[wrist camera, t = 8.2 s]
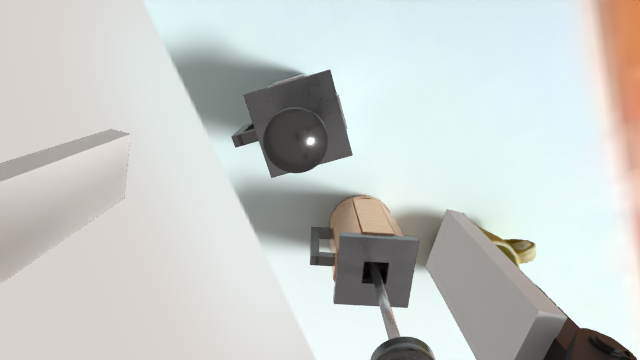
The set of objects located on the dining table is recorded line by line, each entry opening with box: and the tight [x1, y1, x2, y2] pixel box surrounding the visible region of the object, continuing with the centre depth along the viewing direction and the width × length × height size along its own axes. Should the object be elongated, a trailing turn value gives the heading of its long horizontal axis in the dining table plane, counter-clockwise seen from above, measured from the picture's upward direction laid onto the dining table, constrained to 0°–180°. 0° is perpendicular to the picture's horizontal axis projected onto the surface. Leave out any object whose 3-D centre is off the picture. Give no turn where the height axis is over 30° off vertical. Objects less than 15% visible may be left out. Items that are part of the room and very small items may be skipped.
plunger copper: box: [362, 261, 435, 360], centre depth 35 cm, size 6×6×18 cm
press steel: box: [232, 70, 352, 178], centre depth 42 cm, size 12×9×13 cm
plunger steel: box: [263, 107, 328, 173], centre depth 37 cm, size 6×6×18 cm
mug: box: [477, 226, 536, 268], centre depth 51 cm, size 12×10×10 cm
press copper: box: [310, 195, 419, 308], centre depth 47 cm, size 12×9×13 cm
